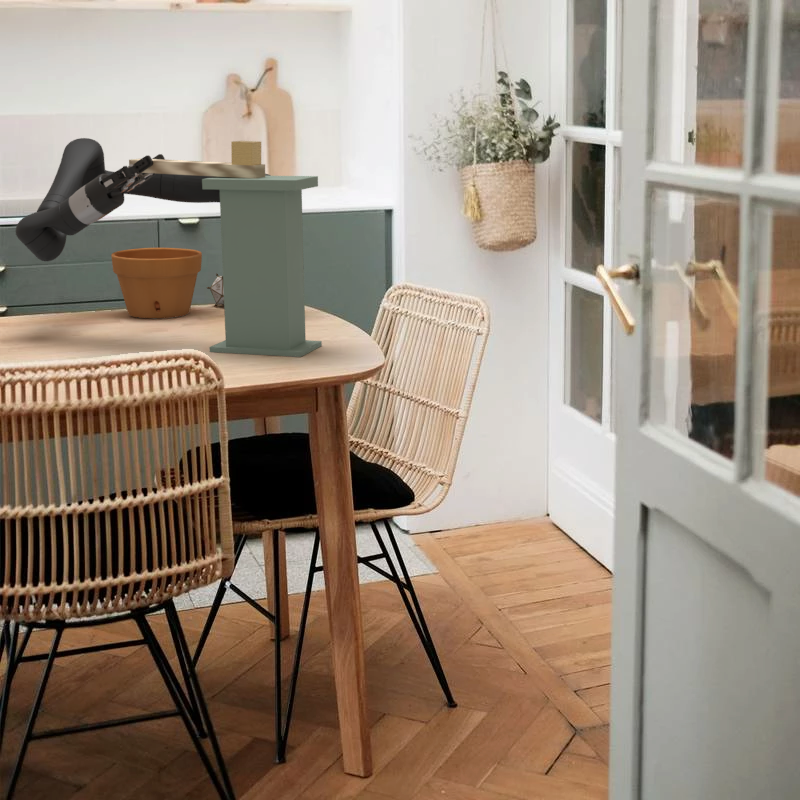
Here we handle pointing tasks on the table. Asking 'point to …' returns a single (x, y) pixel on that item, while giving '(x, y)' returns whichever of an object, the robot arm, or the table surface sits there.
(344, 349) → the table surface
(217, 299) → the game die
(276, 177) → the shelf stand
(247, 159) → the cube
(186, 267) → the flower pot
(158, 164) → the wooden plank
